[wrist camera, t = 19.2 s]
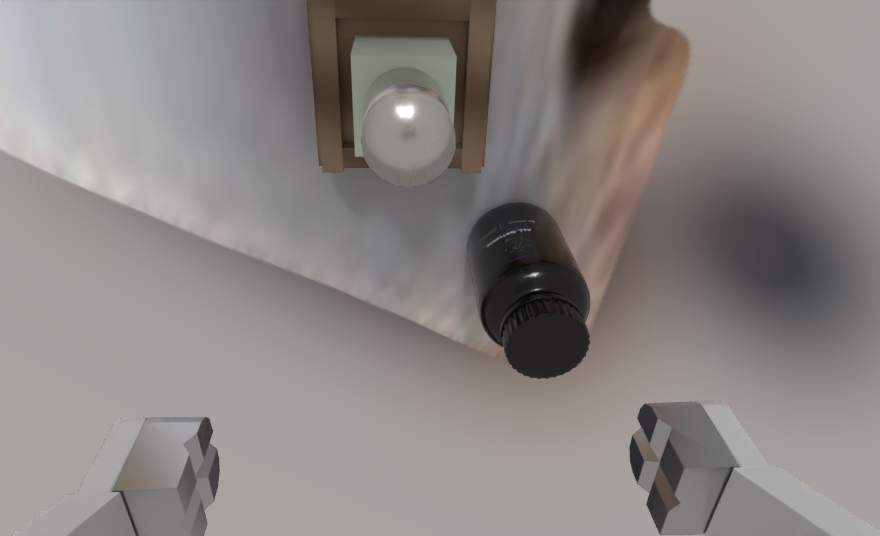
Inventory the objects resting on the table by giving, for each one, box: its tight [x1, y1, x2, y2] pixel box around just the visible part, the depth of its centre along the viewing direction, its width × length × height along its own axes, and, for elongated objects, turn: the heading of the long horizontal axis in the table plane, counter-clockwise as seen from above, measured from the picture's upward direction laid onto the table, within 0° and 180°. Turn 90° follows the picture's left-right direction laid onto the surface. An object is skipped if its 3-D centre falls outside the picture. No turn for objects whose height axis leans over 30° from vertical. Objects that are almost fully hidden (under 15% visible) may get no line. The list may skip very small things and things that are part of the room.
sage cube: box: [351, 35, 457, 157], centre depth 31 cm, size 5×5×5 cm
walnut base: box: [307, 0, 497, 173], centre depth 34 cm, size 10×10×4 cm
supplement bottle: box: [467, 203, 590, 379], centre depth 38 cm, size 7×7×12 cm
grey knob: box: [361, 67, 456, 187], centre depth 27 cm, size 4×4×5 cm
